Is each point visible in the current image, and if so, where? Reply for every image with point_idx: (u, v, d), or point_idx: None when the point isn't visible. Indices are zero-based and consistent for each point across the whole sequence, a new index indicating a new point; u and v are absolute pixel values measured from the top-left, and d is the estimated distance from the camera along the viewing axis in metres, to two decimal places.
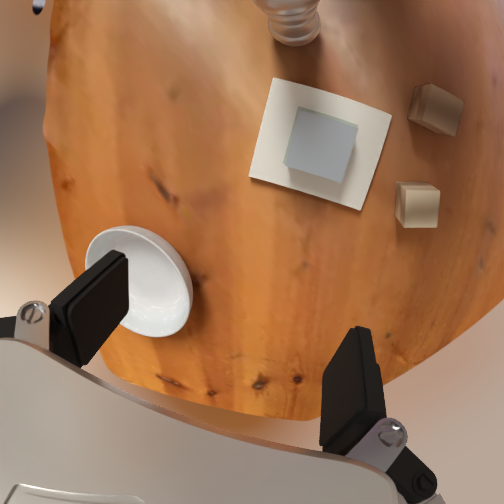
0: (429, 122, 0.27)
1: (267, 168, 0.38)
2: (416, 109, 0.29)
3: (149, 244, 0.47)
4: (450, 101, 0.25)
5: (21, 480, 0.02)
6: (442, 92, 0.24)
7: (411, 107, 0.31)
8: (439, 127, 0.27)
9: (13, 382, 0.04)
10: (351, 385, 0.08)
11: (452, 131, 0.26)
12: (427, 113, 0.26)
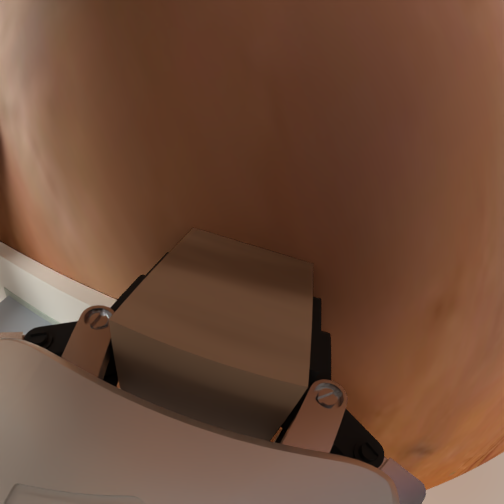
0: None
1: None
2: None
3: None
4: (217, 387, 0.07)
5: (21, 480, 0.02)
6: (169, 355, 0.06)
7: None
8: None
9: (13, 382, 0.04)
10: None
11: None
12: None
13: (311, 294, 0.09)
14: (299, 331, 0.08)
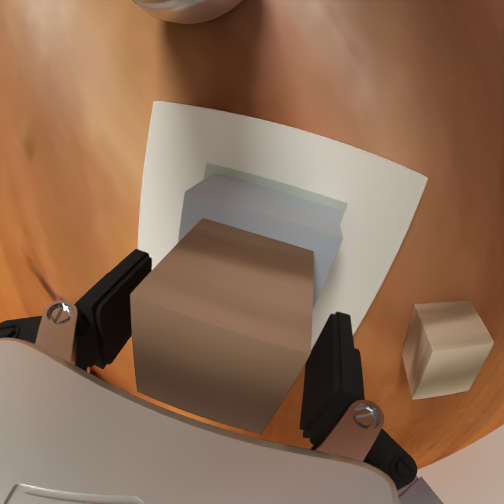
0: (161, 399, 0.10)
1: None
2: None
3: None
4: (228, 356, 0.08)
5: (21, 480, 0.02)
6: (185, 326, 0.07)
7: None
8: (198, 413, 0.10)
9: (13, 382, 0.04)
10: (328, 367, 0.09)
11: (248, 424, 0.09)
12: (146, 380, 0.09)
13: (312, 277, 0.10)
14: (302, 307, 0.09)
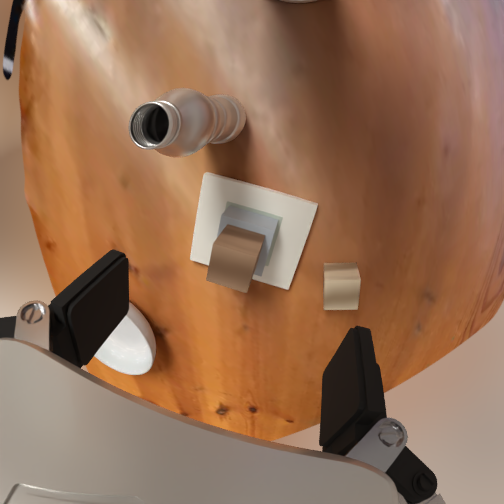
0: (214, 281, 0.34)
1: (204, 254, 0.45)
2: None
3: None
4: (237, 259, 0.32)
5: (21, 480, 0.02)
6: (227, 251, 0.32)
7: None
8: (226, 285, 0.34)
9: (13, 382, 0.04)
10: (351, 385, 0.08)
11: (242, 288, 0.34)
12: (211, 273, 0.34)
13: (262, 242, 0.35)
14: (257, 248, 0.33)
